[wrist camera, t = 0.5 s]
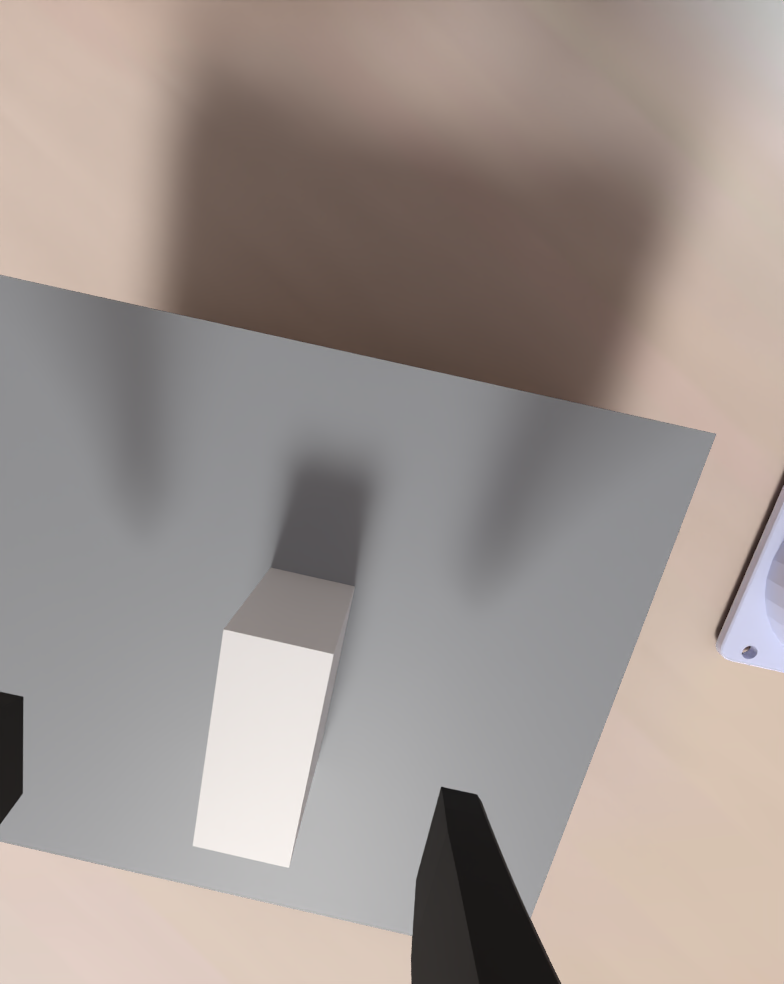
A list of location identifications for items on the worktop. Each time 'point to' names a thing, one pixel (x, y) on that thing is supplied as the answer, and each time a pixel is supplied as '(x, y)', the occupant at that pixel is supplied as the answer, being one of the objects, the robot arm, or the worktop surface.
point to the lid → (306, 600)
